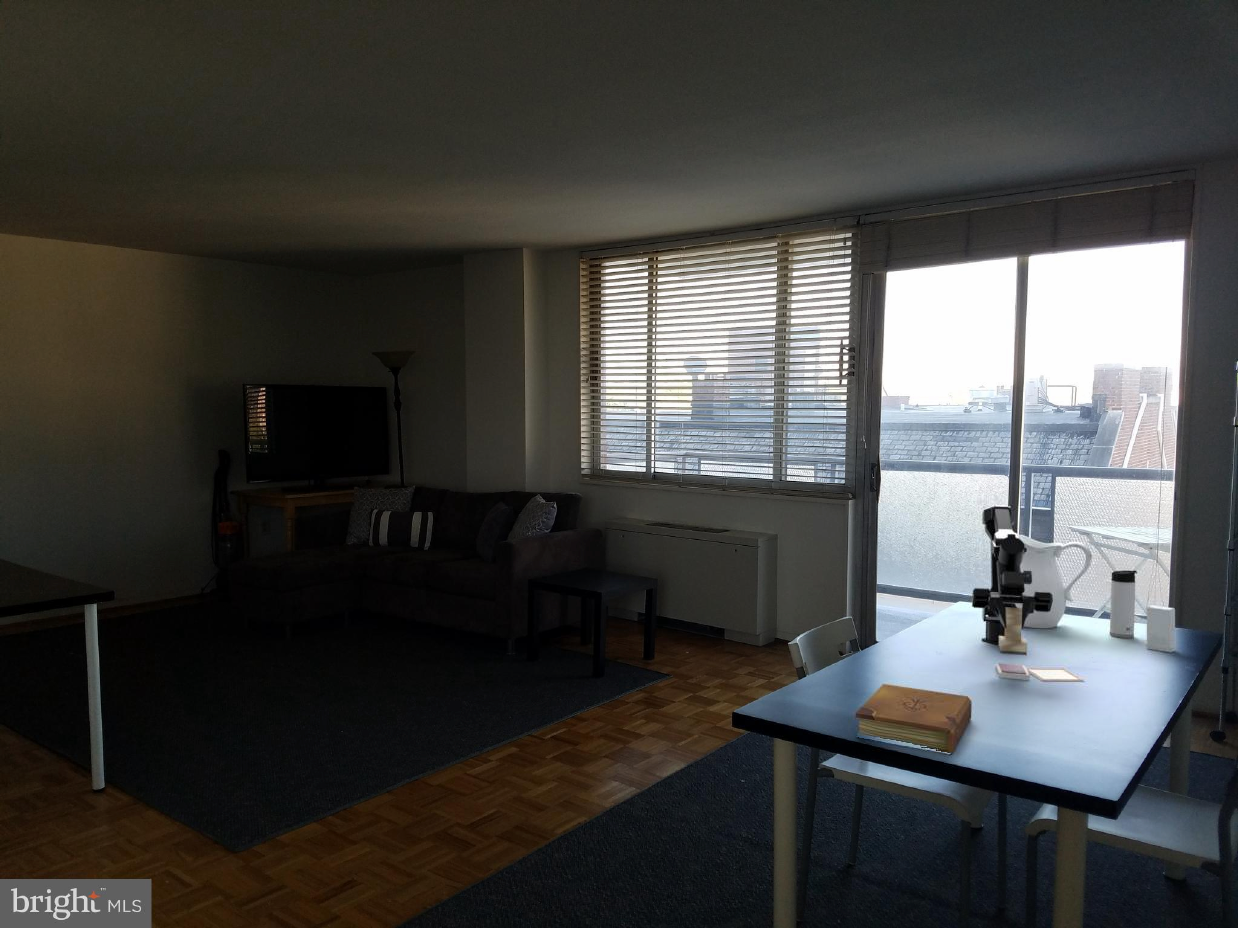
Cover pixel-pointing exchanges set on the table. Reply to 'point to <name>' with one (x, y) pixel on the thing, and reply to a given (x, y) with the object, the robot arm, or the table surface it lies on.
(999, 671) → the ink pad
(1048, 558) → the pitcher
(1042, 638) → the table surface
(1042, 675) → the marked card
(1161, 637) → the skincare box
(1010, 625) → the stamp
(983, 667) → the table surface
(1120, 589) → the travel mug
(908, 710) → the diary
